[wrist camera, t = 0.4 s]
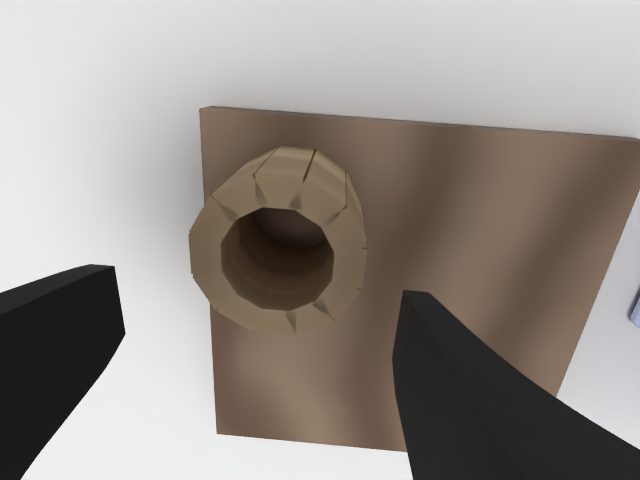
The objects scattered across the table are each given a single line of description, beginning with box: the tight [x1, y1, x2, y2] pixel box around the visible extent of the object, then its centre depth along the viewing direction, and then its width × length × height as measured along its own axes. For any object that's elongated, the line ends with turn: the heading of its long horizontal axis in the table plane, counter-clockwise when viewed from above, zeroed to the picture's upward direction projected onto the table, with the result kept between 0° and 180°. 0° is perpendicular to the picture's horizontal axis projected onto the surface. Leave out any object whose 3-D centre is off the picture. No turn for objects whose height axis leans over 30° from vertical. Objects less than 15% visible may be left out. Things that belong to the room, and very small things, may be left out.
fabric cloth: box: [199, 106, 640, 452], centre depth 19 cm, size 18×18×2 cm
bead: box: [189, 146, 367, 336], centre depth 15 cm, size 6×6×5 cm
